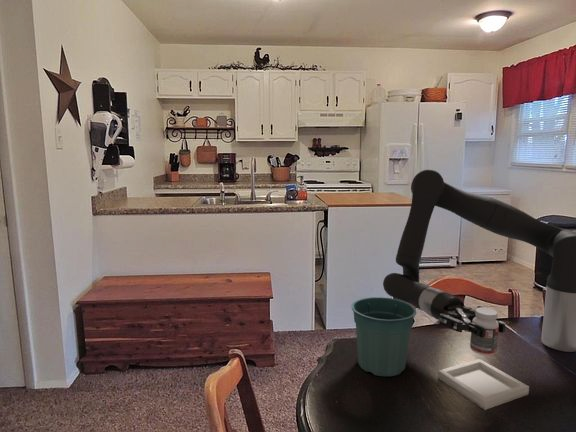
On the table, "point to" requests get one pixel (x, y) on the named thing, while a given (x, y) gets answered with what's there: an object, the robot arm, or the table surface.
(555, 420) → the table surface
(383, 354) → the flower pot
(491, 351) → the pill bottle
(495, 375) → the tray
